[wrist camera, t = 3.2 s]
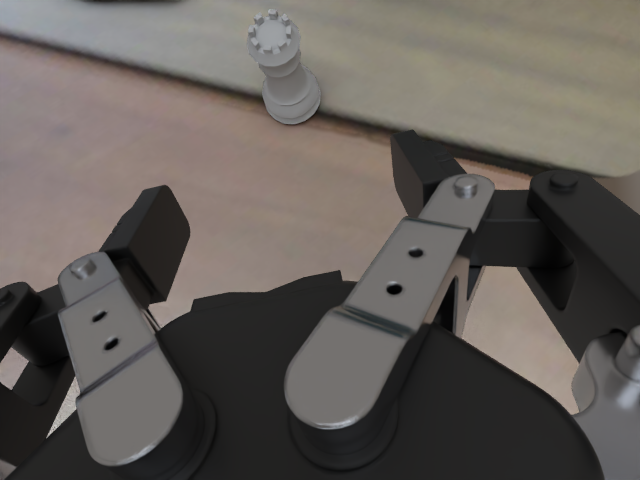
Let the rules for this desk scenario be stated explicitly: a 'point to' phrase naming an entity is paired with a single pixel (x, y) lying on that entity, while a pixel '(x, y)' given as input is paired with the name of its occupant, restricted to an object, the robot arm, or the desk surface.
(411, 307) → the robot arm
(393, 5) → the desk surface
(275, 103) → the rook chess piece
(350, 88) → the desk surface
